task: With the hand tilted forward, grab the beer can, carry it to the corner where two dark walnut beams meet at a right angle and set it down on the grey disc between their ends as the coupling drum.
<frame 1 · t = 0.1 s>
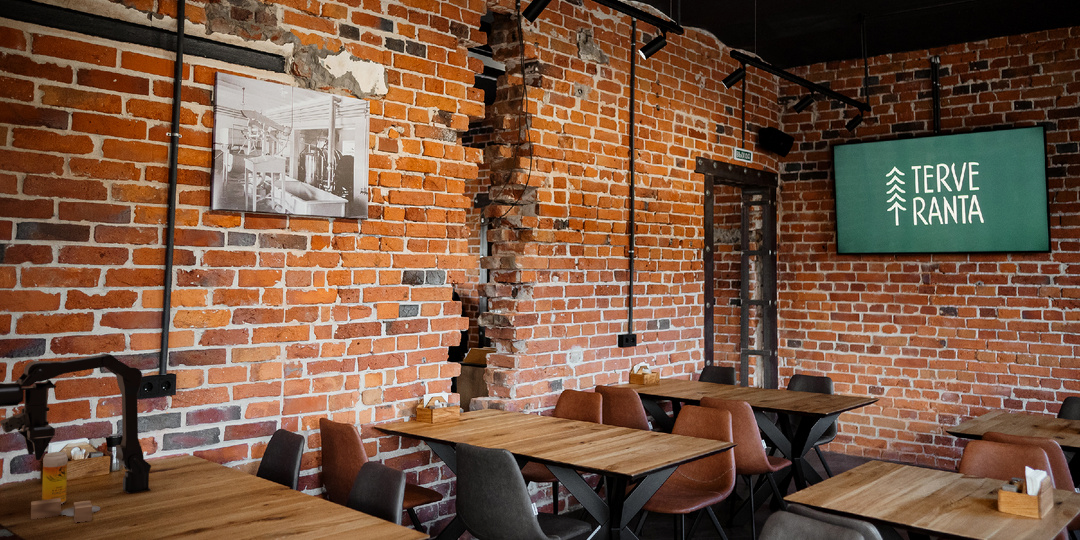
hand: (34, 457, 225), 15 cm above the table, tool pointing down, fingers open, 9 cm apart
beer can: (54, 504, 228), on the table
beam vee: (80, 511, 222), on the table
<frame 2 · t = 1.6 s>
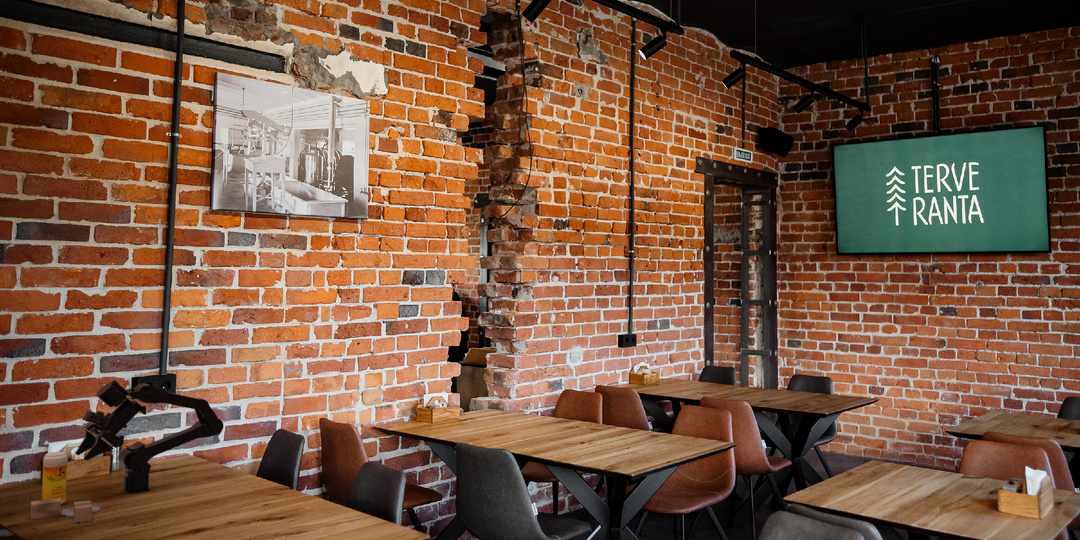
hand: (80, 456, 233), 13 cm above the table, tool tilted 45°, fingers open, 9 cm apart
nothing on the table moved.
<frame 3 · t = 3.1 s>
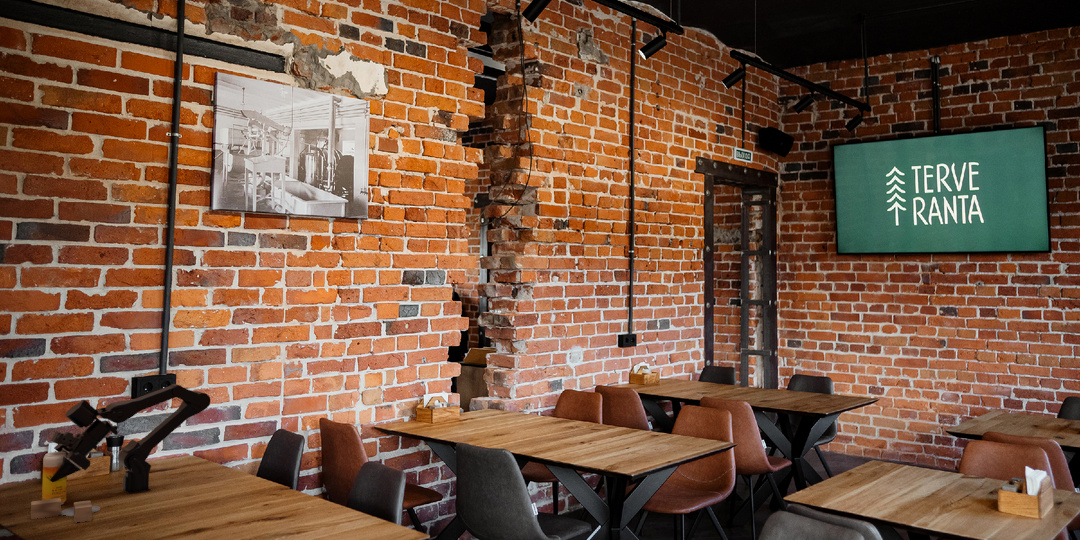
hand: (48, 479, 227), 8 cm above the table, tool tilted 45°, fingers closed on beer can, 6 cm apart
beer can: (54, 504, 228), on the table, touching gripper
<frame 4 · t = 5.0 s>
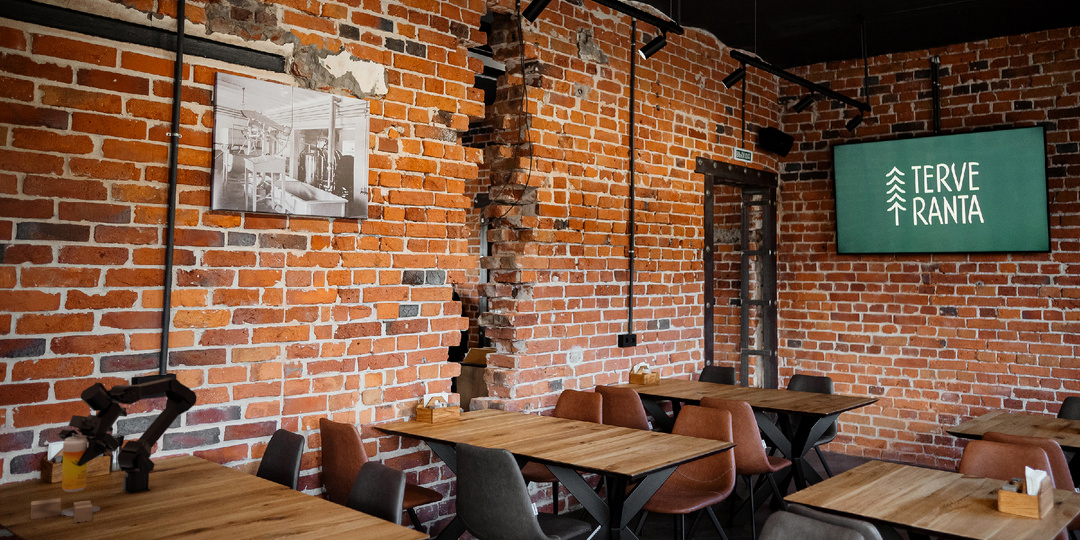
hand: (70, 464, 222), 13 cm above the table, tool tilted 45°, fingers closed on beer can, 6 cm apart
beer can: (74, 490, 223), point 6 cm above the table, touching gripper
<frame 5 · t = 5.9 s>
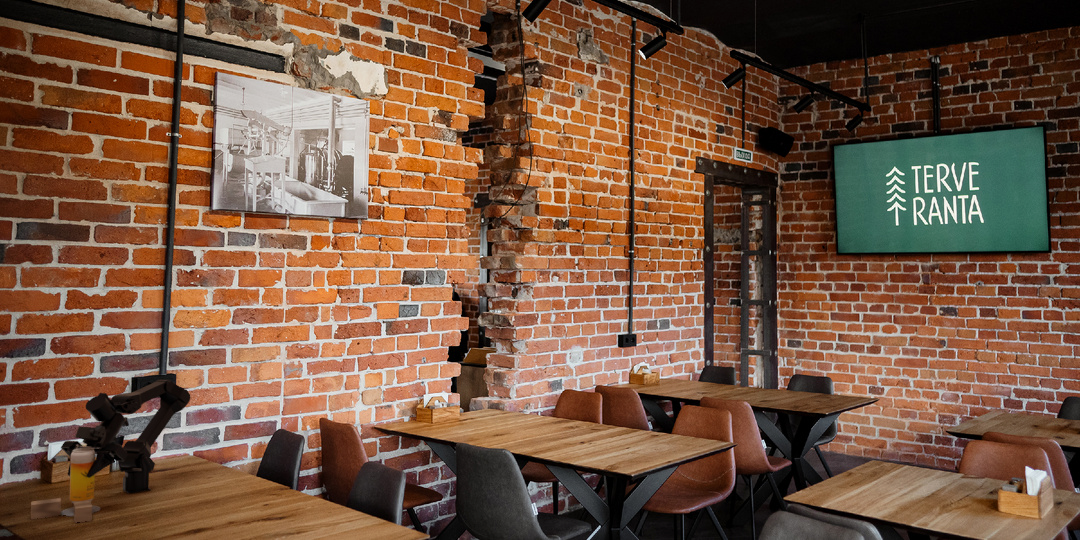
hand: (78, 476, 221), 10 cm above the table, tool tilted 45°, fingers closed on beer can, 6 cm apart
beer can: (81, 501, 222), point 3 cm above the table, touching gripper
when the fingers open (9 cm above the table, at t = 6.7 s): beer can stays where it is, resting on beam vee.
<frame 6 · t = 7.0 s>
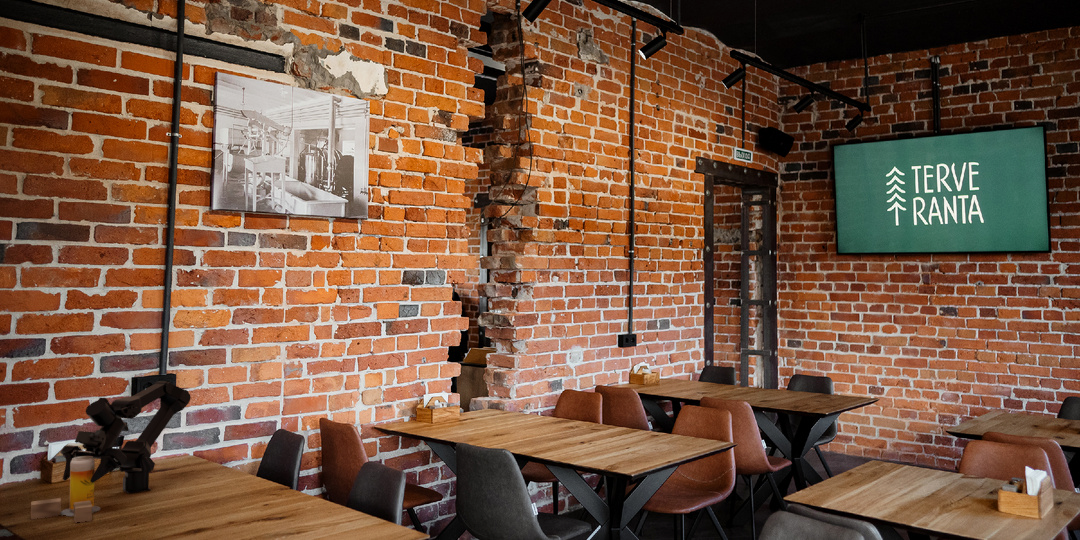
hand: (77, 480, 220), 9 cm above the table, tool tilted 45°, fingers open, 9 cm apart
beer can: (81, 510, 222), resting on beam vee
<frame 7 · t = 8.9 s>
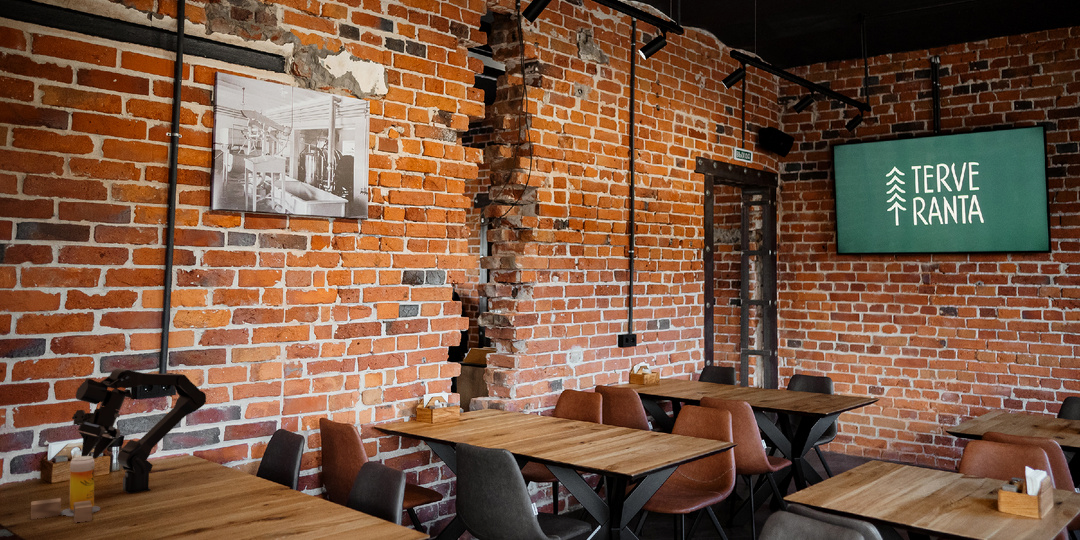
hand: (88, 458, 233), 13 cm above the table, tool tilted 20°, fingers open, 9 cm apart
nothing on the table moved.
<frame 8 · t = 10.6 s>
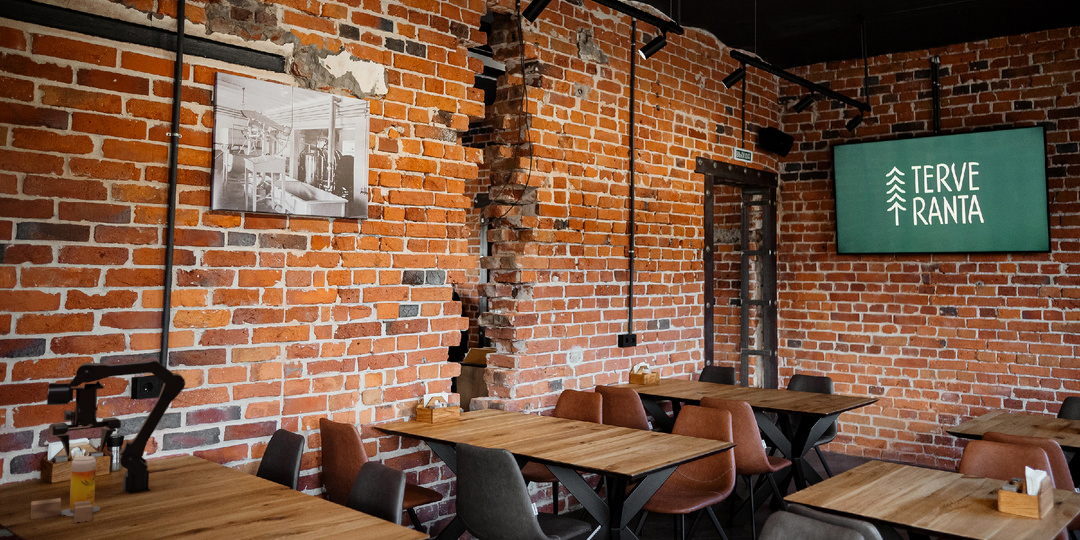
hand: (84, 453, 238), 13 cm above the table, tool pointing down, fingers open, 9 cm apart
nothing on the table moved.
at the end: beer can 0.5 cm from the beam vee (horizontally); beer can tilted 1°; the gripper is holding nothing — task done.
